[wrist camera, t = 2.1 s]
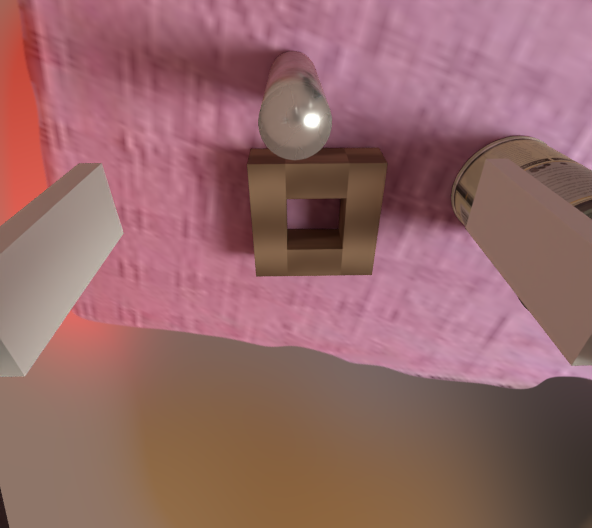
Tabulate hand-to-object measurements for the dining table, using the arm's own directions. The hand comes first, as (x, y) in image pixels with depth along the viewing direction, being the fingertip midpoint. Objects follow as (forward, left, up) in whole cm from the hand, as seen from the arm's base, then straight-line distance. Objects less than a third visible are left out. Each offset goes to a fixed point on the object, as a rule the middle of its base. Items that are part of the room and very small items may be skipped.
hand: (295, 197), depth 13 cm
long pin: (0, 0, -23) cm, 23 cm away
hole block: (+12, +2, -23) cm, 26 cm away
